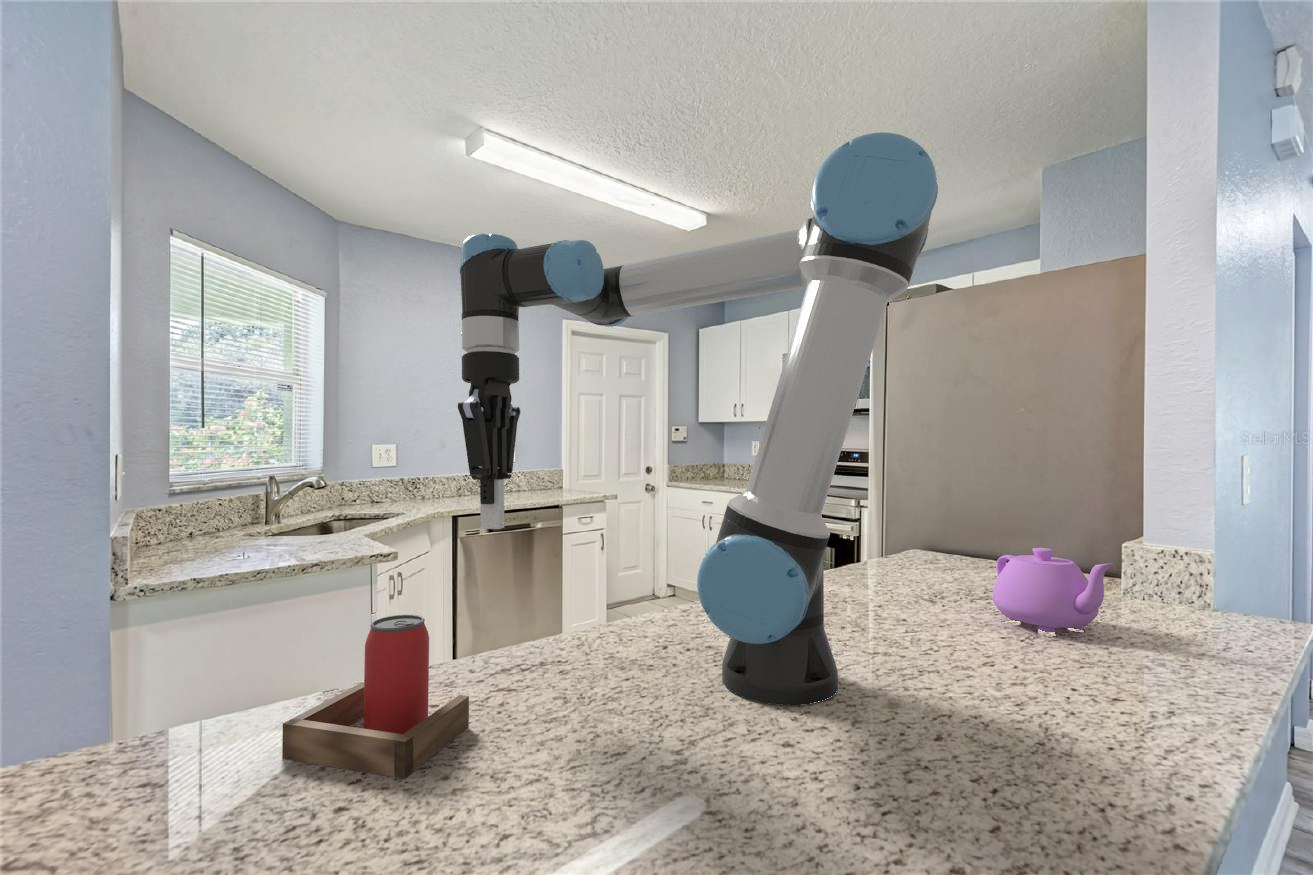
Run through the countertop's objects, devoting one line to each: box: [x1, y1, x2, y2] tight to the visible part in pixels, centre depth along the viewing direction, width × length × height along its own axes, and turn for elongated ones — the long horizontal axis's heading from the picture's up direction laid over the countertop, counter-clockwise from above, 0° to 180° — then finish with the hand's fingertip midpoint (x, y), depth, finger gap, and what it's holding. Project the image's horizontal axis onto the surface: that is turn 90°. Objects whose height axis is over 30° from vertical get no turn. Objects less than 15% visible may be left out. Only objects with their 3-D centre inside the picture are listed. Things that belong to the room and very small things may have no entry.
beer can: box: [363, 614, 430, 734], centre depth 67 cm, size 7×7×12 cm
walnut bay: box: [281, 682, 470, 780], centre depth 64 cm, size 14×11×4 cm
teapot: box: [992, 547, 1116, 633], centre depth 105 cm, size 22×16×14 cm
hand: (492, 528), depth 81 cm, fingers closed
